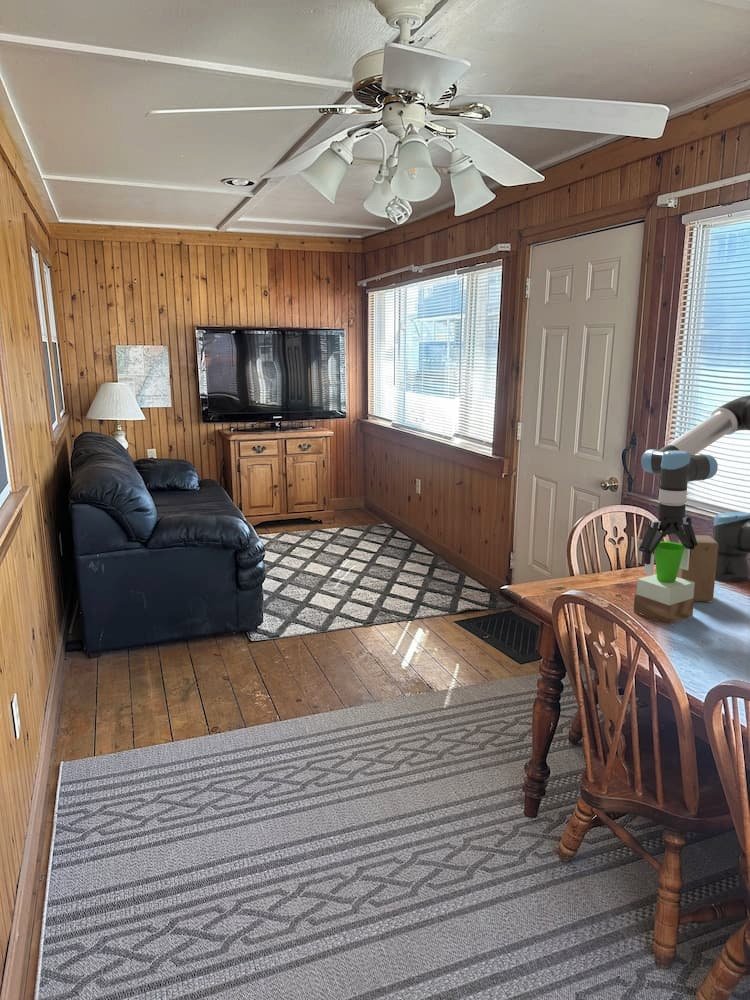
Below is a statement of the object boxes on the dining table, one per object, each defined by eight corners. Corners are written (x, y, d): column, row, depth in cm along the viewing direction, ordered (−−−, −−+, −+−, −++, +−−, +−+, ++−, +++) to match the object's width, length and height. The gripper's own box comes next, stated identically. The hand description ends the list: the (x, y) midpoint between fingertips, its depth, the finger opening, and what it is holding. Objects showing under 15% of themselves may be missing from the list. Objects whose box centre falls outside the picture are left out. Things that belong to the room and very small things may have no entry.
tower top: (660, 587, 215) (661, 572, 214) (693, 598, 205) (694, 582, 204) (636, 594, 209) (637, 578, 208) (669, 605, 199) (670, 589, 198)
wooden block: (713, 603, 217) (719, 542, 212) (680, 601, 219) (685, 541, 214) (705, 592, 226) (710, 534, 222) (673, 591, 228) (678, 533, 224)
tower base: (658, 605, 216) (659, 587, 215) (692, 616, 206) (694, 598, 205) (633, 612, 210) (634, 594, 209) (667, 625, 200) (668, 605, 199)
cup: (685, 586, 201) (689, 550, 198) (653, 584, 203) (656, 549, 200) (678, 576, 209) (681, 542, 207) (647, 574, 211) (650, 540, 209)
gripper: (694, 497, 209) (688, 563, 213) (629, 504, 200) (624, 572, 205) (714, 502, 202) (707, 570, 206) (647, 509, 193) (642, 580, 198)
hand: (666, 571), depth 205 cm, fingers open, 13 cm apart
